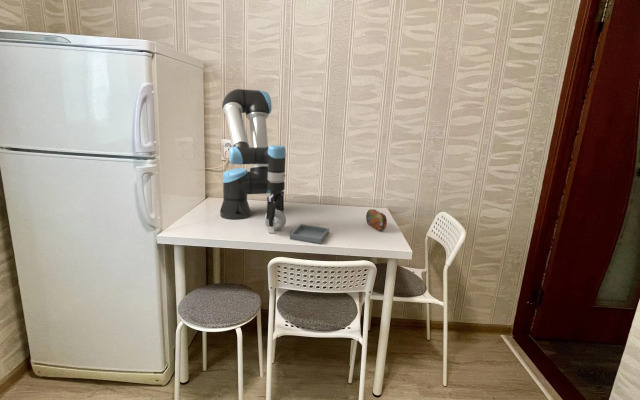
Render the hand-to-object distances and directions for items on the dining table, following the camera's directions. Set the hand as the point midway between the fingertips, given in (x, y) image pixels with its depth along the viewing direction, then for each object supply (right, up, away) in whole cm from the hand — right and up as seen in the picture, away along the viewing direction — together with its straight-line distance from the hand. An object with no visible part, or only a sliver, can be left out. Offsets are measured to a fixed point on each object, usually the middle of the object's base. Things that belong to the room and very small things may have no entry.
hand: (275, 229), depth 156 cm
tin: (+48, 0, +12) cm, 49 cm away
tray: (+16, -2, -5) cm, 17 cm away
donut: (0, 0, 0) cm, 1 cm away
